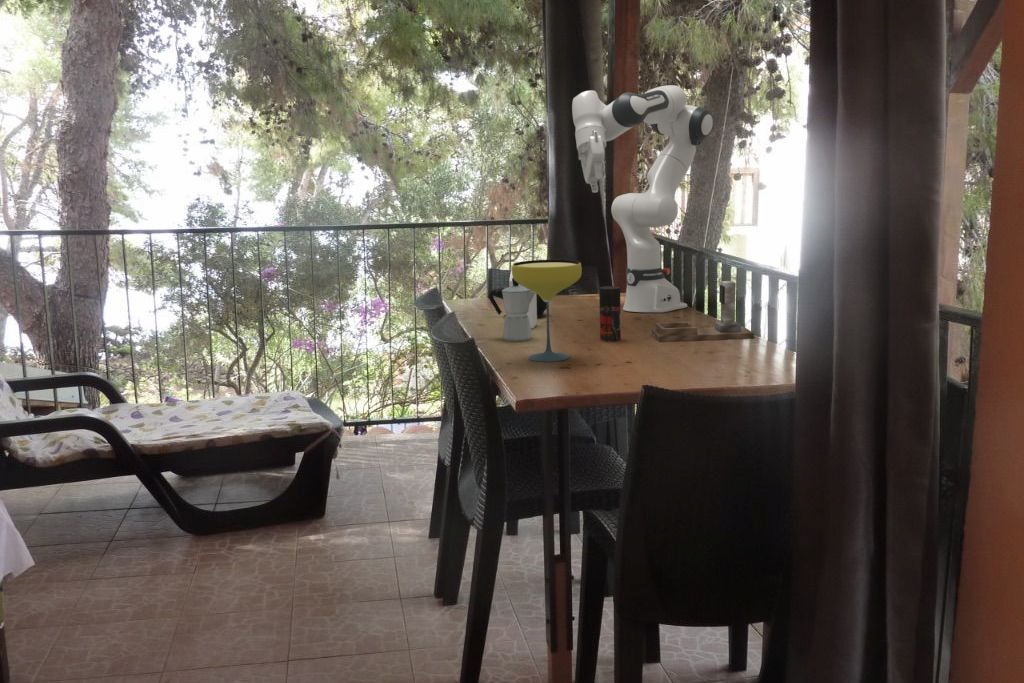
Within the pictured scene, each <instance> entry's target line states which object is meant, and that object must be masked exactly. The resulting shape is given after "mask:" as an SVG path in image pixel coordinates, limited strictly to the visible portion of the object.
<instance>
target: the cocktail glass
mask: <svg viewBox="0 0 1024 683" xmlns="http://www.w3.org/2000/svg"><path fill="white" fill-rule="evenodd" d="M582 271H583V269H582V263H581V262H580V261H578V260H573V259H570V260H569V259H535V260H533V259H532V260H525V261H524V260H523V261H517V262H514V263H512V276H513V279H514V280H515V281H516V282H517V283H519V284H520V285H522V286H523V287H525V288H527V289H529V290H531V291H533V292H535V293H537V294H538V295H539V296H540V297H541V298H542V300H543V301H544V302H546V310H545V311H546V345H545V346H546V348H545V351H544V352H539V353H533V354H531V355H529V356H528V357H527V358H528V360H530V361H533V362H538V363H556V362H562V361H566V360H568V359H570V355H568V354H566V353H561V352H554V351H553V350H552V347H551V338H550V308H549V307H550V303H551V302H552V301H553V299H554V298H555V297H556V296H557V294H559V293H560V292H561V291H563V290H566V289H567V288H569V287H570V286H572V285H574V284H575V283H576V282H578V281H579V280H580V278H581V277H582Z"/></svg>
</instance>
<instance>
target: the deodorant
mask: <svg viewBox="0 0 1024 683" xmlns="http://www.w3.org/2000/svg"><path fill="white" fill-rule="evenodd" d="M598 289H599V293H598V294H599V295H598V297H599V341H600V342H601V341H602V342H608V341H611V342H619V341H621V340H622V338H621V337H622V336H621V334H622V331H621V325H622V323H621V315H622V314H621V287H620V286H615V285H614V286H613V285H611V286H608V285H607V286H600V287H599V288H598ZM611 342H610V343H611Z"/></svg>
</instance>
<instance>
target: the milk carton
mask: <svg viewBox="0 0 1024 683" xmlns="http://www.w3.org/2000/svg"><path fill="white" fill-rule="evenodd" d="M512 278H513V276H512V266H511V267H510V275H509V279H508V280H509V282H508V283H509V284H508V285H509V286H508V287H511V286H513V282H512ZM518 286H522V285H520V284H519V285H518ZM522 287H523V286H522ZM527 316H528V318H529V323H530V329H534V328H535V327H536V326H537V325H538V317H537V298H536V293H535V294H534V296H533V298H532V300H531V302H530V304H529V310H528V312H527Z"/></svg>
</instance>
